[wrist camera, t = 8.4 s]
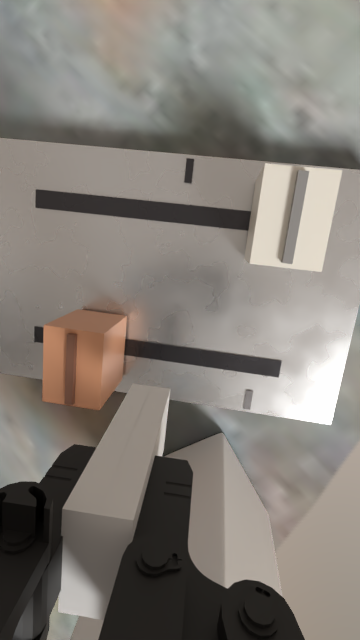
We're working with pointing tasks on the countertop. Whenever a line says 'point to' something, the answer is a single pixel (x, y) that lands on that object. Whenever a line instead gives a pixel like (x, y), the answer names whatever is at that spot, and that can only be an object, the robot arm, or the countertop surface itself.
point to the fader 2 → (292, 216)
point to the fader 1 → (83, 358)
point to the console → (174, 275)
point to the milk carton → (219, 524)
